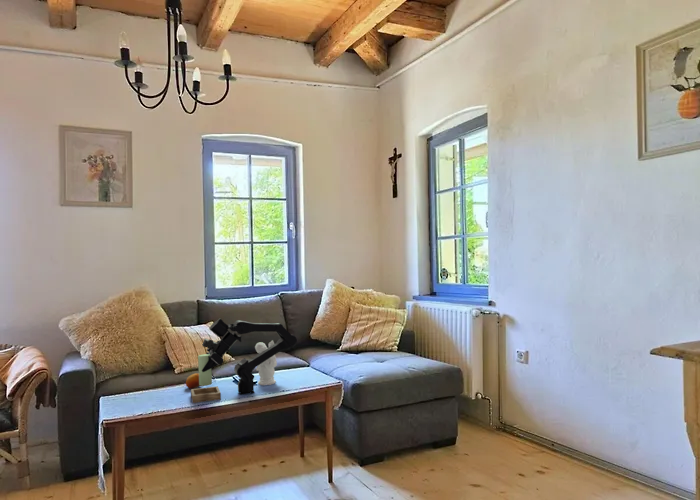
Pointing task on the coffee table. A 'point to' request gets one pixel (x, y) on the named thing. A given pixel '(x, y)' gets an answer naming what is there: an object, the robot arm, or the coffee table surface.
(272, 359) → the cherub figurine
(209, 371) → the green rounded tapered cylinder
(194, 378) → the fruit
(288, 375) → the coffee table surface
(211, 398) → the tray
